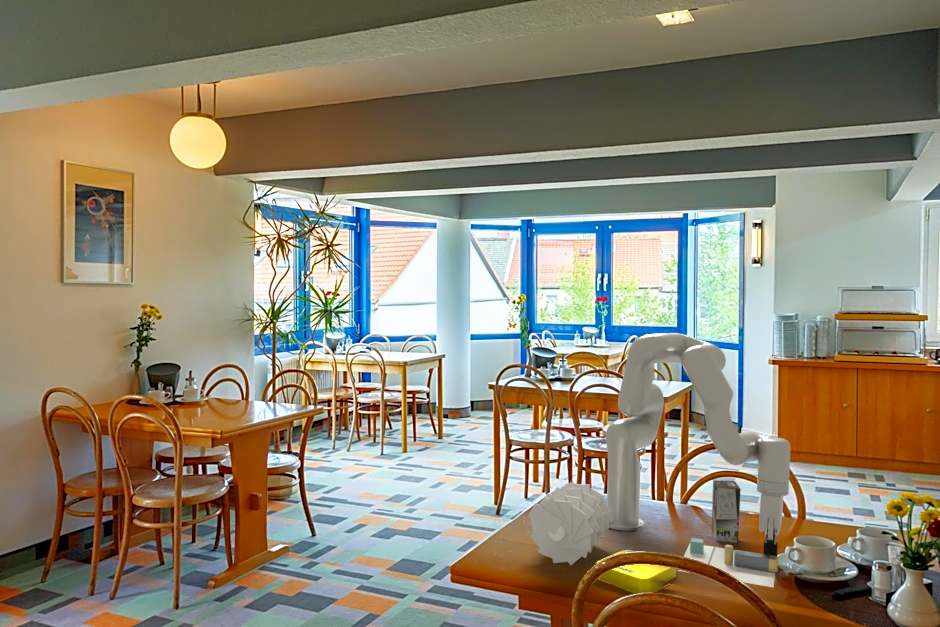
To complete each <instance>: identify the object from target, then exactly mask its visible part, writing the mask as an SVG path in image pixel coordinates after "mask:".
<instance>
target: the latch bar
mask: <svg viewBox="0 0 940 627" xmlns="http://www.w3.org/2000/svg"><path fill="white" fill-rule="evenodd" d="M735 550H736V551H735V559H734V565H736V566H742V567H748V568H754V569H760V570H766V571H771V572H775V573H778V571H779V556H778V555H777V556H773V555H766V554H763V553H757V552H754V551H753V552H752V551H746V550H739V549H735Z"/></svg>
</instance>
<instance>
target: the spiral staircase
mask: <svg viewBox="0 0 940 627" xmlns="http://www.w3.org/2000/svg"><path fill="white" fill-rule="evenodd" d="M604 497H605V495H604V494H602V493H600V492H599V491H598V490H595V489H594V488H592V487H591V484H590V483H589V484H587V483H584V484H583V483H581V484H580V483H575V482H574V481H572V480H571V481H570V482H569V483H567V484H566V485H563V486H562V487H559V486H556V487H555V489H554V491H553V493H552V494H551V493H550V492H547V494H546V496H544V498H543V499H542V500H541V502H540V504H538V503H537V502H535V503H534V504H533V507H532V508H531V510H530V512H529V514H528V516H527V517H528V518H529V519H530V523H531V527H532V532H531V533H530V535H529V536H530V537H531V539H532V540H533V541H534V543H535V544H536V545H537V546H538V548H539V549H538V552H537V553H538V554H541V555H543V556H545V557H547V558H550V559H552V564H560V563H568V564H569V565H570V566H572V565H573V564H575V563H576V562H577V561H578V560H579V559H580V558H585V559H586V558H587V557H588V553H590V554H591V553H592V550H593V549H594V547H596V546H597V540H599V541H601V540H602V536H604V537H606V534H607V530H609V529H610V528H609V516H608V514H609V513H610V512H611V511H610V509H609V508H608V506H607V502H606V501H605V499H604Z"/></svg>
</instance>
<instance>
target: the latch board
mask: <svg viewBox="0 0 940 627" xmlns="http://www.w3.org/2000/svg"><path fill="white" fill-rule="evenodd" d="M736 550H737V549H734V546H733V545H731V544H725V545H724V548H723V547H717V546H712V545H707V544H706V545H705V540H704V539H702V538H695V537H692V538H691V540H690V542H689V544H688V546H687V549H686V550H685V552H684V555H683V557H687V558H690V559H694V560H698V561H701V562H704V563H706V564H709V565H712V566H714V567H716V568H719V569H721V570H723V571H725V572H727V573H729V574H730V575H732V576H734V577H735V578H737V579H738V580H740V581H742V582H741V583H746V584H750V585H756V586H762V587H767V588H772V589H774V587H775V579H776V572H771V571H766V570H760V569H754V568H748V567H742V566H736V565H734V559H735V551H736ZM676 572H682V573H688V574H690V573H689V572H686V571H682V570H677V569H676Z"/></svg>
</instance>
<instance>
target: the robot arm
mask: <svg viewBox="0 0 940 627" xmlns="http://www.w3.org/2000/svg"><path fill="white" fill-rule="evenodd" d="M626 356H627V357H626V363H625V369H624V373H623V377H622V381H621V385H620V390H619V394H618V399H617V407H618V409H619V411H620V413H622V414H623V415H624V416H626V418H620V419H616V420H615V421H613V422H612V423H610V425H609V426H608V427H607V428H606V431H605V443H606V444H605V445H606V451H607V482H606V483H607V485H606V487H607V488H606V489H607V490H606V504H607V506H608V508H609V509H610V511H611V512H610V513H609V514H608V516H609V529H612V530H615V531H616V530H617V531H628V532H630V531H633V532H634V531H637V530H638V528H640V527H645V522H644V520H643V519H641V518H640V497H641V496H640V493H641V461H640V460H641V459H640V457H639V454H638V450H639V449H643V448H646V447H649V446H650V445H652V444H653V443H654V441H655V440H656V437H657V436H658V432H659V428H660V427H659V426H660V423H661V418H662V415H663V412H664V406H665V397H664V393H663V391H662V390H661V388H660V386H659V385H657V384H655V383H653V381H654V378H655V367H654V366H655V364H667V363H668V364H669V363H679V364H682V367H683V370H684V372H685V373H686V376H687V377H688V379H689V380H690V383H691V384H692V387H693V388H694V390H695V392H696V394H697V396H698V398H699V399H700V401H701V403H702V405H703V408H704V410H703V412H704V413H703V414H704V421H705V426H706V430H707V433H708V435H709V438H710V440H711V441H712V443H713V445H714V447H715V449H716V450H717V451H716V452H717V453H718V454H719V455H720V457H721V458H722V459H723V460H724V461H725V462H727V463H728V464H730V465H735V466H740V465H742V464H743V465H744V464H746V463H749V462H755V461H757V476H756V477H757V479H756V491H757V492H758V493H760V501H759V502H760V503H759V522H758V532H760V533H762V532H763V533H764V541H763V553H762V554H766V555H773V556H778V540H777V539H778V538H777V537H778V535H779V534H780V531H781V526H782V522H783V520H782V519H783V511H784V510H783V509H784V497H785V496H788V495H789V493H790V473H791V472H790V469H791V468H790V466H791V444H790V441H789V440H787V439H785V438H782V437H777V436H776V437H775V436H774V437H773V436H766V435H763V434H760V433H757V432H752V431H744V432H741V433H740V432H738V430H737V428H736V426H735V424H734V422H733V419H732V417H731V412H730V408H731V403H732V400H733V397H734V391H733V389H732V387H731V385H730V383H729V382H728V380H727V378H726V376H725V375H724V373H723V372H722V371H723V369H725V367H726V363H727V362H726V361H727V360H726V359H727V358H726V356H725V354H724V352H723V350H722V349H721V348H720V347H718V346H717V345H715V344H713V343H710V342H707V341H704V340H701V339H698V338H695V337H693V336H690V335H686V334H683V333H679V332H668V333H667V332H660V333H650V334H649V333H648V334H645V335H641V336H640V337H637V338H635V340H633V342H632V343H631V344H630V346H629V348H628V351H627V355H626ZM627 416H628V417H627Z"/></svg>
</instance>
